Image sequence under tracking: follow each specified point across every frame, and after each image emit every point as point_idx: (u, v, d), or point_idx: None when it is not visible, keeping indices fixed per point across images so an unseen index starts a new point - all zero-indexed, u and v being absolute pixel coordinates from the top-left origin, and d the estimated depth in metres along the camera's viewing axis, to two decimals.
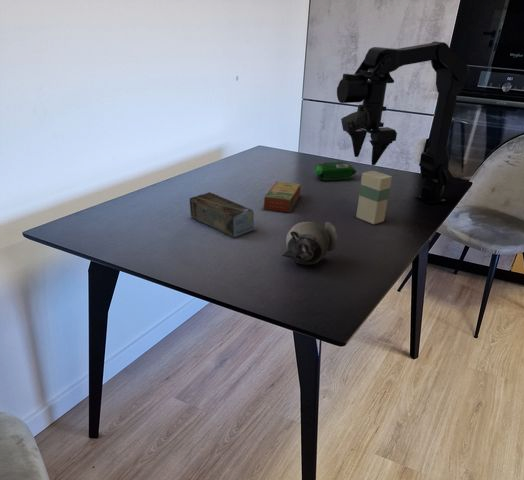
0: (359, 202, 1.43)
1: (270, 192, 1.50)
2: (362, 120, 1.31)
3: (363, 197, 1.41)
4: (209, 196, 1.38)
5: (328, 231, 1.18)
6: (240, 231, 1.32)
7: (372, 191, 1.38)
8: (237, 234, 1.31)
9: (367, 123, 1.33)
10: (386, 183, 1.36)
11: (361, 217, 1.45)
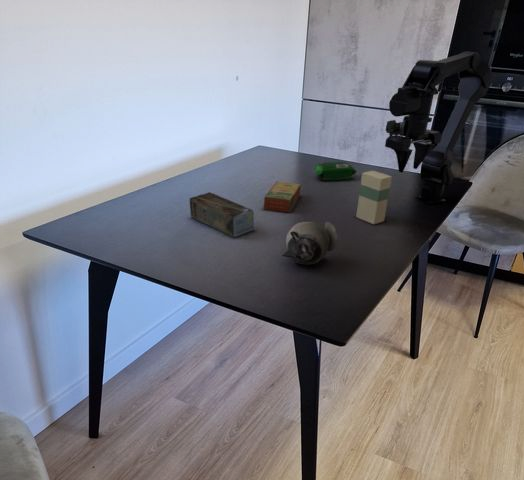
0: (359, 202, 1.43)
1: (270, 192, 1.50)
2: (391, 125, 1.40)
3: (363, 197, 1.41)
4: (209, 196, 1.38)
5: (328, 231, 1.18)
6: (240, 231, 1.32)
7: (372, 191, 1.38)
8: (237, 234, 1.31)
9: (401, 130, 1.39)
10: (386, 183, 1.36)
11: (361, 217, 1.45)
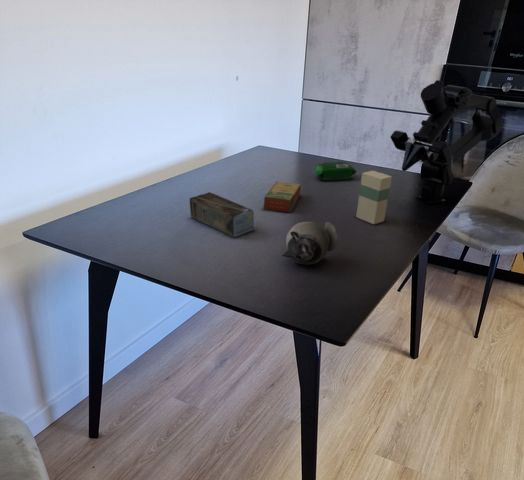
0: (359, 202, 1.43)
1: (270, 192, 1.50)
2: None
3: (363, 197, 1.41)
4: (209, 196, 1.38)
5: (328, 231, 1.18)
6: (240, 231, 1.32)
7: (372, 191, 1.38)
8: (237, 234, 1.31)
9: None
10: (386, 183, 1.36)
11: (361, 217, 1.45)
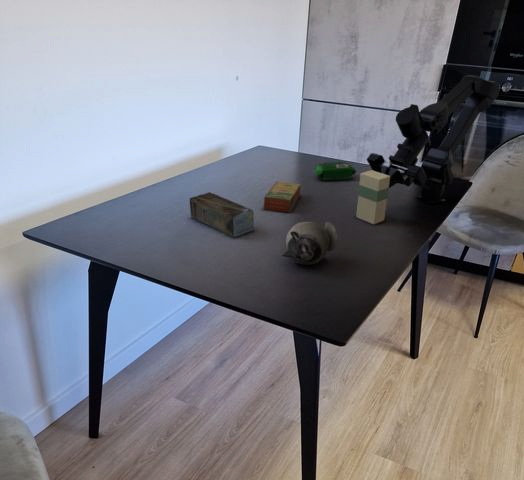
0: (358, 202, 1.43)
1: (270, 192, 1.50)
2: None
3: (362, 198, 1.41)
4: (209, 196, 1.38)
5: (328, 231, 1.18)
6: (240, 231, 1.32)
7: (371, 191, 1.38)
8: (237, 234, 1.31)
9: None
10: (385, 183, 1.36)
11: (361, 217, 1.45)
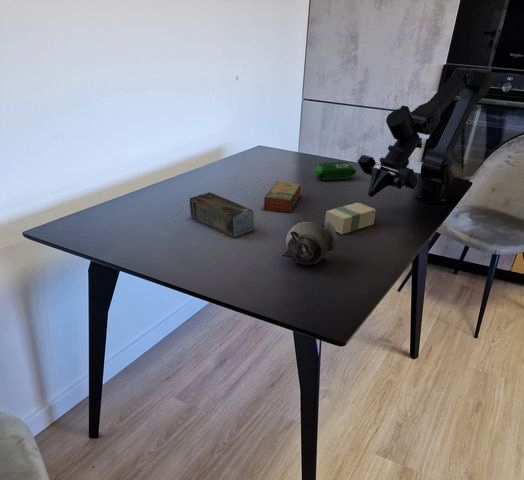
0: None
1: (270, 192, 1.50)
2: None
3: None
4: (209, 196, 1.38)
5: (328, 231, 1.18)
6: (240, 231, 1.32)
7: None
8: (237, 234, 1.31)
9: None
10: (347, 224, 1.34)
11: None
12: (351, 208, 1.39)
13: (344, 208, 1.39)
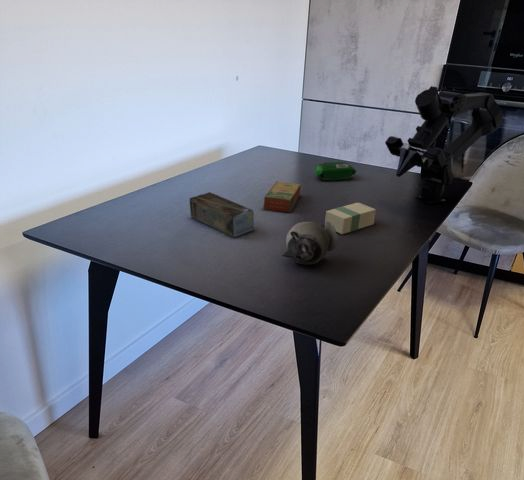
0: None
1: (270, 192, 1.50)
2: None
3: None
4: (209, 196, 1.38)
5: (328, 231, 1.18)
6: (240, 231, 1.32)
7: None
8: (237, 234, 1.31)
9: None
10: (347, 224, 1.34)
11: None
12: (351, 208, 1.39)
13: (344, 208, 1.39)
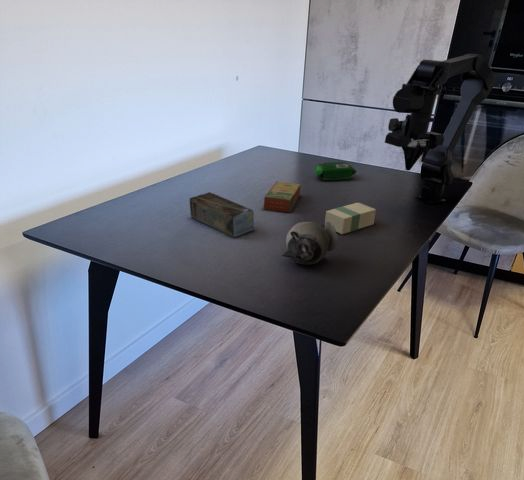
0: None
1: (270, 192, 1.50)
2: (393, 123, 1.40)
3: None
4: (209, 196, 1.38)
5: (328, 231, 1.18)
6: (240, 231, 1.32)
7: None
8: (237, 234, 1.31)
9: (402, 129, 1.40)
10: (347, 224, 1.34)
11: None
12: (351, 208, 1.39)
13: (344, 208, 1.39)
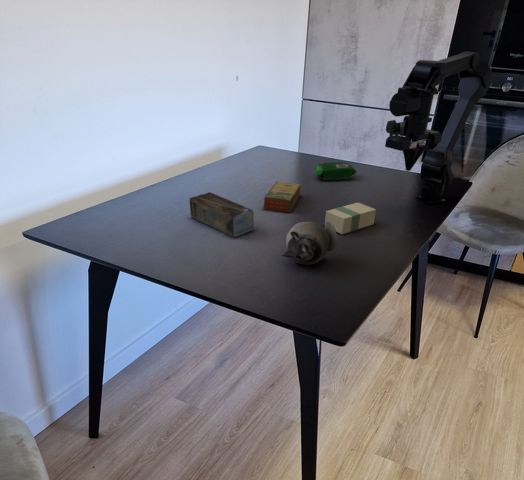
0: None
1: (270, 192, 1.50)
2: (391, 125, 1.40)
3: None
4: (209, 196, 1.38)
5: (328, 231, 1.18)
6: (240, 231, 1.32)
7: None
8: (237, 234, 1.31)
9: (401, 130, 1.39)
10: (347, 224, 1.34)
11: None
12: (351, 208, 1.39)
13: (344, 208, 1.39)
